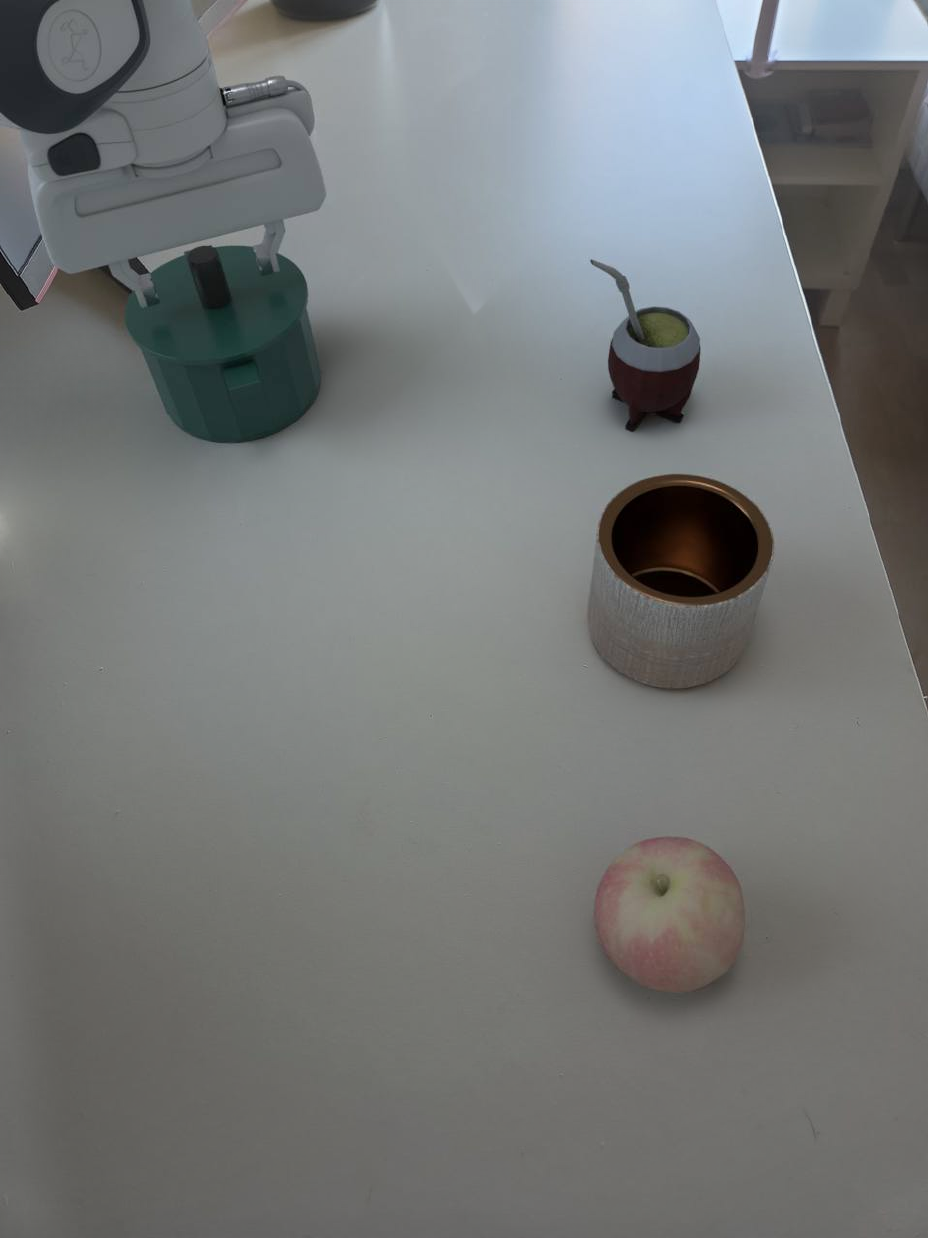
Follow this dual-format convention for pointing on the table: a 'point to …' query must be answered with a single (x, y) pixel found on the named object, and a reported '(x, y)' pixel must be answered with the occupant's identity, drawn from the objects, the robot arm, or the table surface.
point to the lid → (217, 307)
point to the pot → (242, 389)
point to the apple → (670, 914)
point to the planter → (677, 579)
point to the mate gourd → (652, 358)
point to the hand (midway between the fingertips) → (209, 285)
